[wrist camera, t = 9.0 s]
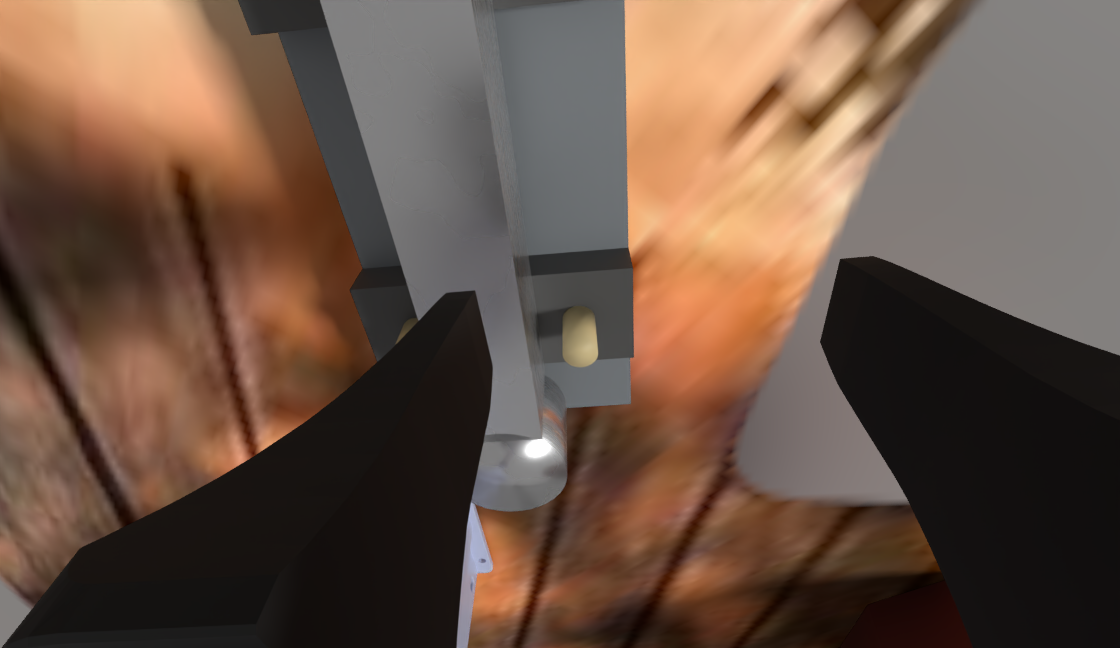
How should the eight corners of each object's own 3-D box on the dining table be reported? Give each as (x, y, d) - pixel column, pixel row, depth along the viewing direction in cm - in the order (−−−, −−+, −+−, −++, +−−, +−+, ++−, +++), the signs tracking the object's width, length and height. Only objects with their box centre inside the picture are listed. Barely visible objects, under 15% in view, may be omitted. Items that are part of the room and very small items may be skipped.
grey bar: (570, 438, 23) (571, 508, 20) (472, 444, 23) (459, 513, 21) (461, -502, 9) (416, -705, 6) (216, -463, 9) (66, -640, 6)
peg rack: (627, 381, 25) (640, 465, 21) (422, 394, 26) (396, 479, 22) (610, -460, 11) (638, -693, 7) (159, -391, 12) (-55, -568, 8)
